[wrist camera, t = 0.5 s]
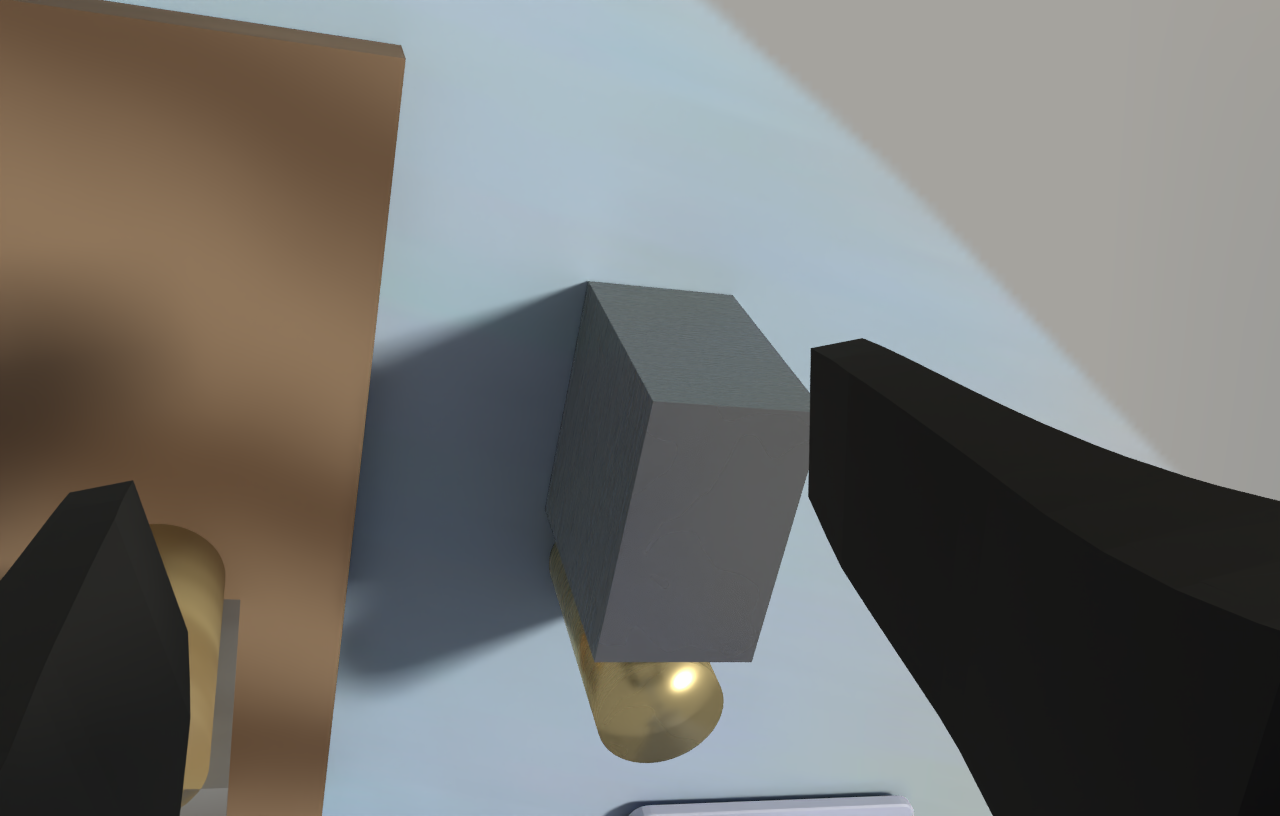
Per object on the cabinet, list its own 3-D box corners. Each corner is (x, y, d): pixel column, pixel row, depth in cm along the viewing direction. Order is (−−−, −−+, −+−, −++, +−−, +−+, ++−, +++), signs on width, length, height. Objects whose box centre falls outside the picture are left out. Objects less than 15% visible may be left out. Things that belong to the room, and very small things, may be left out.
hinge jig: (320, 794, 28) (324, 1031, 23) (-22, 805, 26) (-101, 1070, 21) (400, 45, 20) (435, 146, 15) (-67, -26, 18) (-208, 65, 13)
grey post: (656, 603, 28) (722, 760, 23) (527, 601, 27) (571, 765, 22) (732, 295, 24) (825, 413, 20) (588, 281, 23) (653, 401, 19)
